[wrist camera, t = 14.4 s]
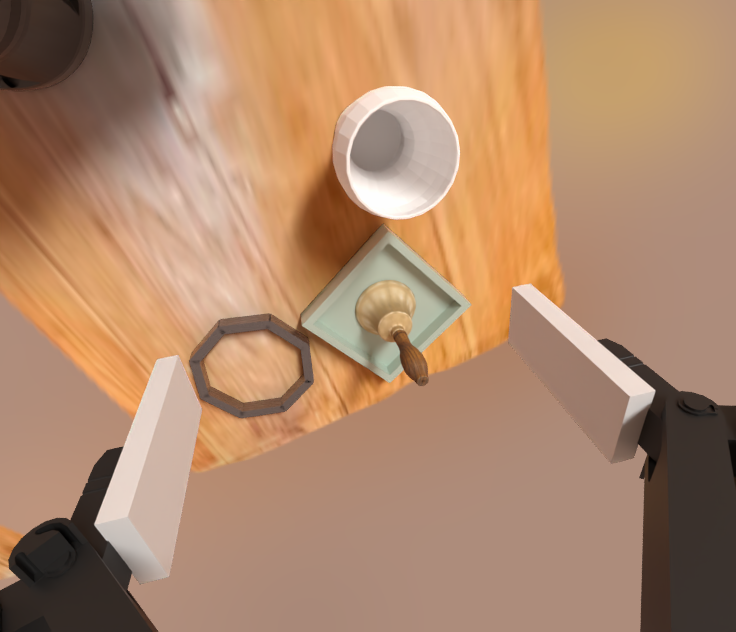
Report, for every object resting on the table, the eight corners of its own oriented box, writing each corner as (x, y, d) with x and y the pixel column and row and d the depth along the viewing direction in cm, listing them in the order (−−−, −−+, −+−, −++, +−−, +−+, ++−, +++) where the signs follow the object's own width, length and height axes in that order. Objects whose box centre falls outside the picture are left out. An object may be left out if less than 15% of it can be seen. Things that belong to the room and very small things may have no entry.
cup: (418, 177, 50) (467, 214, 38) (330, 193, 49) (349, 236, 37) (412, 75, 45) (466, 77, 32) (312, 90, 44) (327, 99, 31)
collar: (172, 375, 57) (169, 383, 56) (240, 294, 53) (239, 301, 52) (266, 422, 64) (266, 431, 63) (333, 353, 61) (334, 361, 59)
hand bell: (401, 268, 55) (443, 334, 41) (424, 316, 59) (469, 389, 45) (344, 298, 55) (367, 373, 42) (371, 343, 60) (400, 424, 46)
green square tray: (300, 314, 56) (301, 325, 54) (383, 223, 52) (388, 231, 50) (385, 370, 64) (389, 383, 61) (463, 294, 60) (471, 304, 57)
